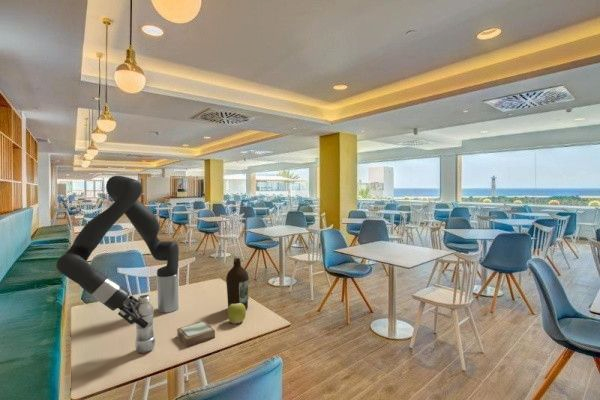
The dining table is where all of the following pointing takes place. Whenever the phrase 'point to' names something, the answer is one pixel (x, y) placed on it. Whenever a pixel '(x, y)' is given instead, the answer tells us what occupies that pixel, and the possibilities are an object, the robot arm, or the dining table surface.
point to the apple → (236, 313)
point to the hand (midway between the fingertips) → (148, 320)
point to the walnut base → (195, 333)
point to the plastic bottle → (146, 335)
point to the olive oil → (237, 284)
